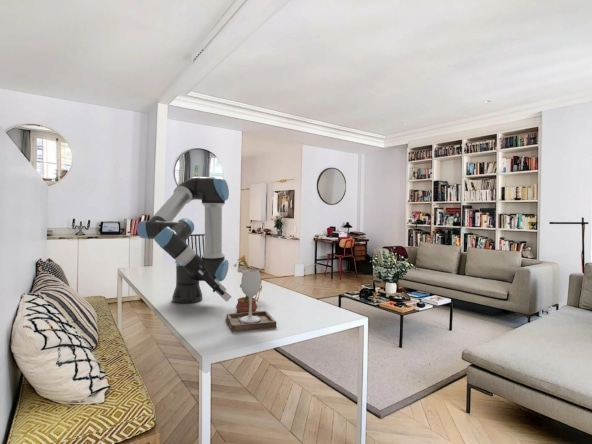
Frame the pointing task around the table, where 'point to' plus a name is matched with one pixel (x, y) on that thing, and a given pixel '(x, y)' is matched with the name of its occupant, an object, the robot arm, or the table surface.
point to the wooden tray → (237, 325)
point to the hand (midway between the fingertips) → (226, 295)
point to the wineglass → (250, 291)
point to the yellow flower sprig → (249, 269)
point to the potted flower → (244, 301)
